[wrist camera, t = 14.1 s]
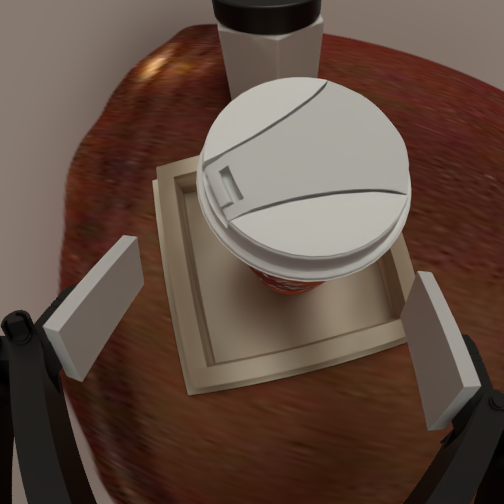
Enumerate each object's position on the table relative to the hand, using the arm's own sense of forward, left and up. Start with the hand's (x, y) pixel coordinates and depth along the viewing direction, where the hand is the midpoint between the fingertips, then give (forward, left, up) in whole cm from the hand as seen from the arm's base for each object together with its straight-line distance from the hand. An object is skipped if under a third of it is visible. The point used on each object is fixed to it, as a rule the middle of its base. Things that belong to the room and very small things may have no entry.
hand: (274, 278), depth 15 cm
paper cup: (-2, -3, -8) cm, 9 cm away
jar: (-5, -20, -9) cm, 22 cm away
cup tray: (-1, -3, -9) cm, 10 cm away
